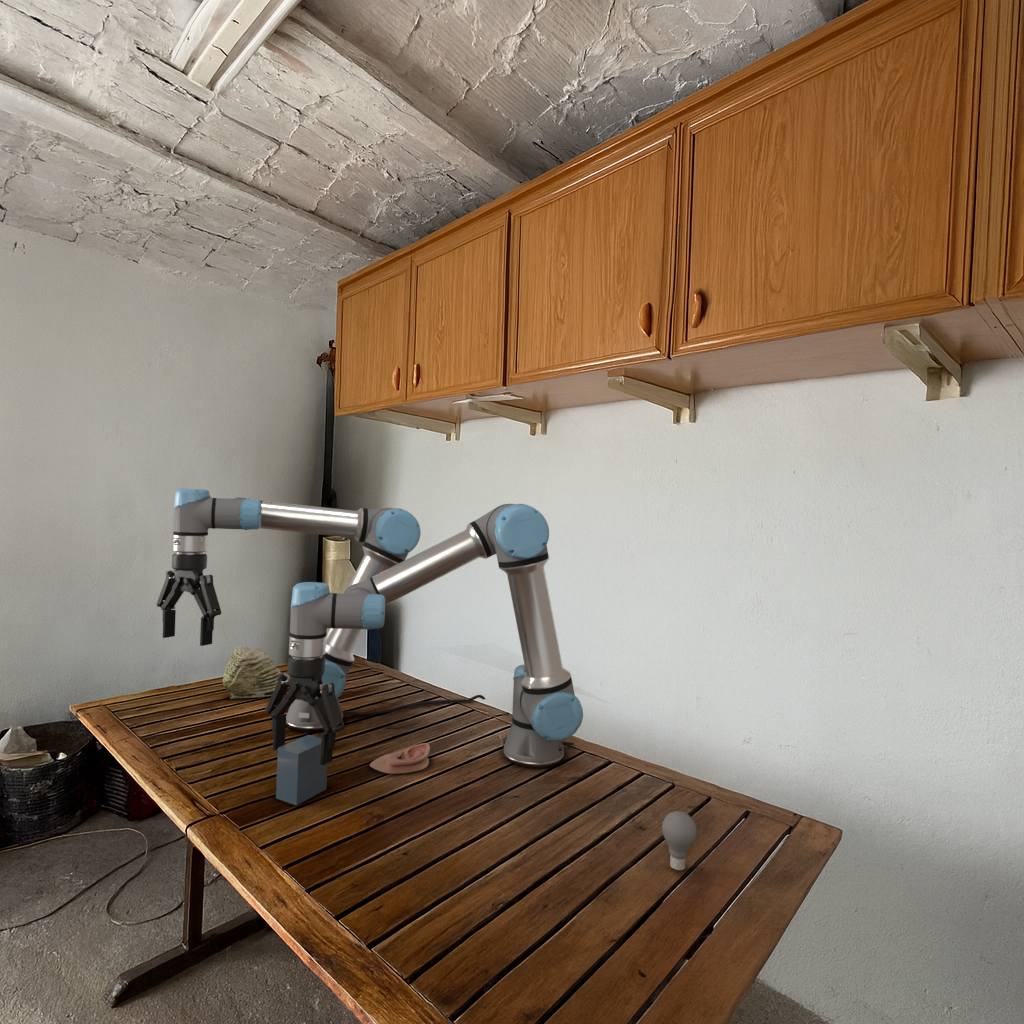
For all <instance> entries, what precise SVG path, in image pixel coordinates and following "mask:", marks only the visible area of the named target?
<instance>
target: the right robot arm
mask: <svg viewBox="0 0 1024 1024" xmlns="http://www.w3.org/2000/svg"><path fill="white" fill-rule="evenodd" d="M549 539H550V527H549V524H548V521H547V519H546V518H545V516H544V515H543V514H542V513H541V511H539V510H538V509H536V508H535V507H533V506H531V505H528V504H524V503H504V504H501V505H498V506H496V507H495V508H493V509H491V510H490V511H489V512H487V513H485V514H484V515H482V516H480V517H478V518H477V519H475V520H473V521H471V522H469V523H467V525H466V528H465V529H464V530H463V531H460V532H458V533H456V534H455V535H451V537H448V538H446V539H445V540H443V541H441V542H439V543H438V542H437V543H436V544H434V545H432V546H430V547H429V548H426V549H425V550H423V551H420V552H419V553H416V554H414V555H412V556H410V557H408V558H406V559H405V561H403V562H401V563H399V564H397V565H395V566H393V567H391V568H389V569H387V570H385V571H383V572H381V573H379V574H377V575H375V576H373V577H371V578H369V579H367V580H365V581H363V582H361V583H355V584H353V585H351V586H350V587H347V588H346V589H345V590H344V592H343V593H340V592H339V593H337V592H331V591H330V586H329V584H328V583H325V582H317V581H304V582H298V583H296V584H295V585H294V586H293V587H292V593H291V602H290V618H289V639H288V640H289V643H288V655H289V657H288V659H287V672H284V673H282V674H280V675H278V681H277V685H276V687H275V690H274V692H273V694H272V696H270V699H268V700H269V701H268V702H267V705H266V707H265V709H264V713H265V714H266V715H270V717H271V731H272V751H278V748H279V747H281V746H283V745H286V730H287V729H286V728H287V726H286V712H288V710H289V707H290V706H291V705H292V703H293V702H294V701H295V700H296V699H297V700H303V701H305V702H308V703H309V705H310V706H312V707H313V708H314V710H315V712H316V714H317V716H318V718H319V720H320V722H321V724H322V726H323V728H324V730H325V731H323V732H322V733H321V738H322V740H321V759H320V765H325V764H327V765H328V764H329V763H332V762H333V753H334V748H335V747H336V738H337V733H338V732H340V731H344V729H345V728H346V727H345V723H344V718H343V719H342V716H341V713H340V709H339V706H338V703H337V699H336V696H335V687H334V683H333V682H331V683H328V684H325V683H323V682H322V676H323V674H324V672H325V657H324V656H323V655H324V654H326V636H327V628H331V629H335V628H338V629H363V630H366V631H369V630H379V629H382V628H383V627H384V625H385V620H386V619H385V617H386V614H385V613H386V606H387V605H389V604H391V603H393V602H395V601H397V600H399V599H401V598H403V597H405V596H407V595H409V594H410V593H412V592H415V591H416V590H418V589H420V588H422V587H424V586H426V585H428V584H430V583H432V582H434V581H436V580H438V579H440V578H443V577H444V576H446V575H448V574H450V573H452V572H454V571H456V570H458V569H460V568H462V567H464V566H466V565H467V564H469V563H471V562H473V561H476V560H478V559H479V558H481V559H484V560H486V559H488V558H490V557H492V556H494V555H496V559H497V565H498V569H499V570H501V571H503V572H504V573H506V576H507V581H508V587H509V591H510V597H511V602H512V606H513V613H514V617H515V622H516V628H517V632H518V638H519V639H518V640H519V644H520V648H521V649H520V650H521V653H522V659H523V664H520V665H518V666H516V667H515V668H514V672H513V673H514V674H513V677H512V681H513V689H512V690H513V691H512V711H511V712H512V713H511V726H510V728H509V731H508V733H507V735H505V737H504V738H503V741H502V746H503V752H502V755H503V757H504V759H505V760H506V761H508V762H509V763H510V764H514V765H516V766H519V767H524V768H530V769H544V768H551V767H554V766H557V765H559V764H561V763H562V762H563V761H564V759H565V750H564V746H574V745H575V743H574V742H572V741H565V740H567V739H569V738H571V737H572V736H574V735H575V734H576V733H577V731H578V730H579V728H580V727H581V725H582V722H583V719H584V709H583V706H582V703H581V700H579V698H578V697H577V696H576V694H575V689H574V684H573V678H572V673H571V671H569V670H568V669H566V668H565V667H564V666H563V661H562V655H561V650H560V646H559V639H558V635H557V630H556V624H555V619H554V614H553V608H552V607H553V606H552V603H551V602H552V601H551V598H550V597H551V596H550V591H549V587H548V581H547V575H546V571H545V566H546V564H547V563H548V562H549V560H550V557H549V550H548V542H549ZM288 688H289V690H288ZM316 697H318V698H317V699H315V698H316ZM329 725H330V726H331V727H329Z"/></svg>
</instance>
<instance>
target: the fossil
mask: <svg viewBox="0 0 1024 1024" xmlns="http://www.w3.org/2000/svg"><path fill="white" fill-rule="evenodd" d="M280 674H283V673H282V672H281V669H279V668H278V667H277V665H276V663H275V662H274V660H273V659H272V658H271V657H270V656H269V655H268V654H267V653H266V652H265V650H264V649H263V648H260V647H258V648H251V647H247V646H246V647H245V646H238V647H237V648H236V649H235V650H233V651H232V653H231V656H230V657H229V659H228V660H227V663H226V666H225V668H224V671H223V675H222V676H223V677H222V685H223V687H224V688H225V690H226V691H228V693H229V698H230V699H250V698H264V697H271V696H272V694H273V692H274V690H275V687H276V685H277V681H278V675H280Z"/></svg>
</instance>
